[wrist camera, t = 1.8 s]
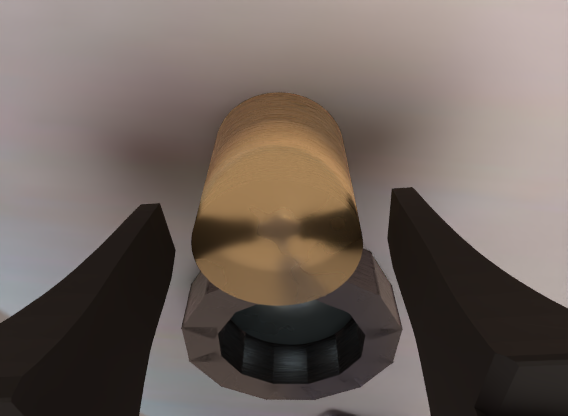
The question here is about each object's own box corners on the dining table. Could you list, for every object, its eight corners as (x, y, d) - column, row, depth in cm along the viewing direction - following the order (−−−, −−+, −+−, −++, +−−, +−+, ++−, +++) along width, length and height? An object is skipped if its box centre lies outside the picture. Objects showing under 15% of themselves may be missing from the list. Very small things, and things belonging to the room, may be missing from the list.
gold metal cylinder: (300, 219, 19) (304, 322, 15) (195, 171, 18) (165, 271, 13) (369, 132, 16) (398, 228, 12) (252, 66, 15) (238, 150, 11)
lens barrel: (319, 374, 27) (321, 416, 25) (164, 323, 24) (153, 366, 22) (430, 279, 21) (445, 323, 19) (249, 196, 18) (245, 238, 16)
